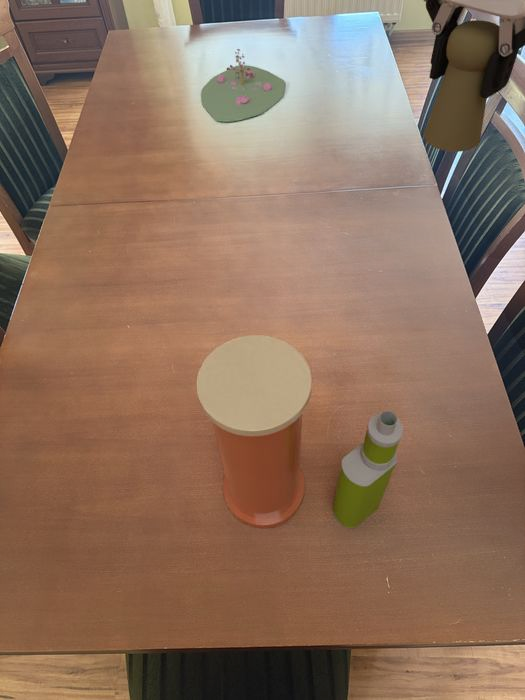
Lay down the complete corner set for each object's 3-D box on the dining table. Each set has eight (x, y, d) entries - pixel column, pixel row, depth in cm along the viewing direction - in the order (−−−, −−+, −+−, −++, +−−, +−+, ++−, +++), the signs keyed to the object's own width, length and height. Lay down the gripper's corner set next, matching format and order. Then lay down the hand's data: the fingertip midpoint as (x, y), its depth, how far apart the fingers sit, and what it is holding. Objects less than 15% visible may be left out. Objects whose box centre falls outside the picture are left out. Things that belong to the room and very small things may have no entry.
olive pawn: (473, 156, 54) (508, 42, 45) (416, 145, 55) (439, 33, 47) (485, 128, 57) (519, 16, 48) (431, 118, 59) (455, 9, 50)
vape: (385, 502, 61) (419, 420, 46) (348, 533, 59) (371, 458, 43) (363, 479, 63) (389, 392, 47) (327, 508, 61) (341, 428, 45)
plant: (284, 122, 115) (284, 81, 108) (194, 124, 116) (188, 83, 109) (285, 71, 131) (285, 32, 123) (205, 73, 132) (201, 34, 124)
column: (314, 518, 61) (326, 416, 42) (231, 537, 60) (205, 442, 41) (293, 443, 67) (295, 325, 48) (218, 460, 66) (189, 346, 47)
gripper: (676, -170, 35) (564, 98, 49) (461, -185, 43) (419, 48, 57) (624, -152, 32) (521, 127, 46) (405, -171, 40) (375, 70, 54)
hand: (465, 81), depth 51 cm, fingers closed on olive pawn, 5 cm apart
